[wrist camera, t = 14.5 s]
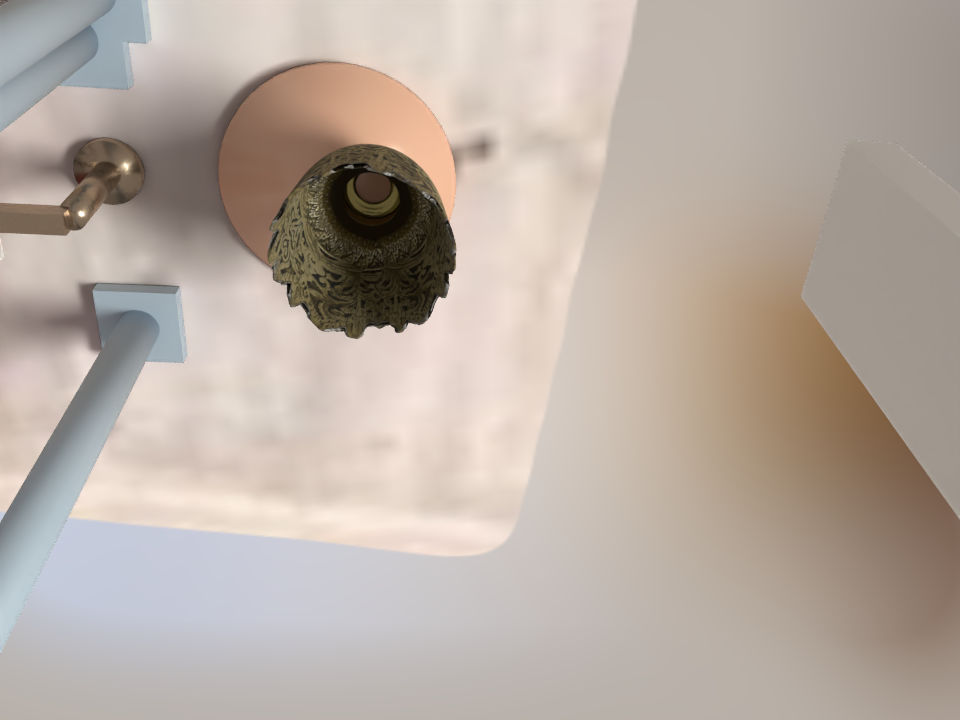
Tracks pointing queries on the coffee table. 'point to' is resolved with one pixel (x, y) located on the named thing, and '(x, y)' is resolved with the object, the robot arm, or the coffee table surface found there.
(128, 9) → the gate
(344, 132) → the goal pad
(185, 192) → the coffee table surface
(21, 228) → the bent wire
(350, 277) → the ornate lamp shade
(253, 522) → the coffee table surface
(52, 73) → the gate
